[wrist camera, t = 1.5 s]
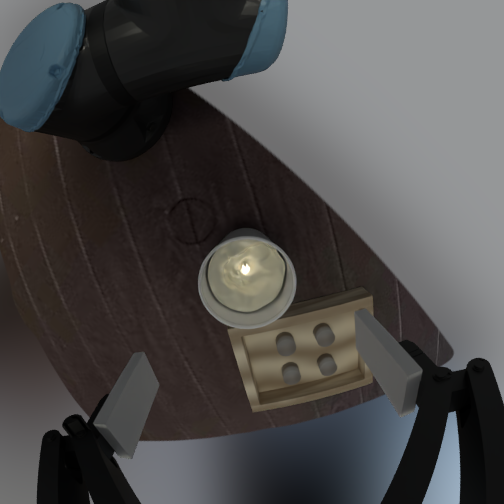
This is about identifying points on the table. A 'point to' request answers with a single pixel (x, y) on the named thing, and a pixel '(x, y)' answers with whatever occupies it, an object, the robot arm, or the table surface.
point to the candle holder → (247, 280)
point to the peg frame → (303, 352)
